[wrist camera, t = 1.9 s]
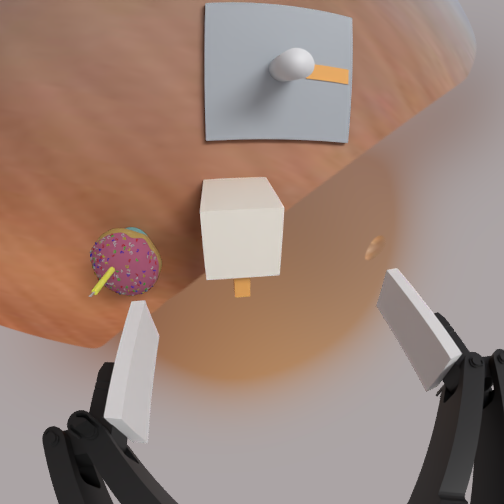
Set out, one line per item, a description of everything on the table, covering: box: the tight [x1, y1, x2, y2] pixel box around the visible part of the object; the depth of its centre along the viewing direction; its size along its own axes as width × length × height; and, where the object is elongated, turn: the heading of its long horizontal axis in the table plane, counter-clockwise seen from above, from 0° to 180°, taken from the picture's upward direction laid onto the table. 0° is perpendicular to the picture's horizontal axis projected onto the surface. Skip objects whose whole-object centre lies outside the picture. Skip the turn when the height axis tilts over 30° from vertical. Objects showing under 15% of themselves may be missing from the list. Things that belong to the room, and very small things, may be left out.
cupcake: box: [89, 227, 162, 297], centre depth 27 cm, size 9×8×12 cm
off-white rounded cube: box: [200, 177, 284, 297], centre depth 29 cm, size 10×7×9 cm, turn 0°
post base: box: [205, 2, 353, 143], centre depth 21 cm, size 16×16×6 cm
